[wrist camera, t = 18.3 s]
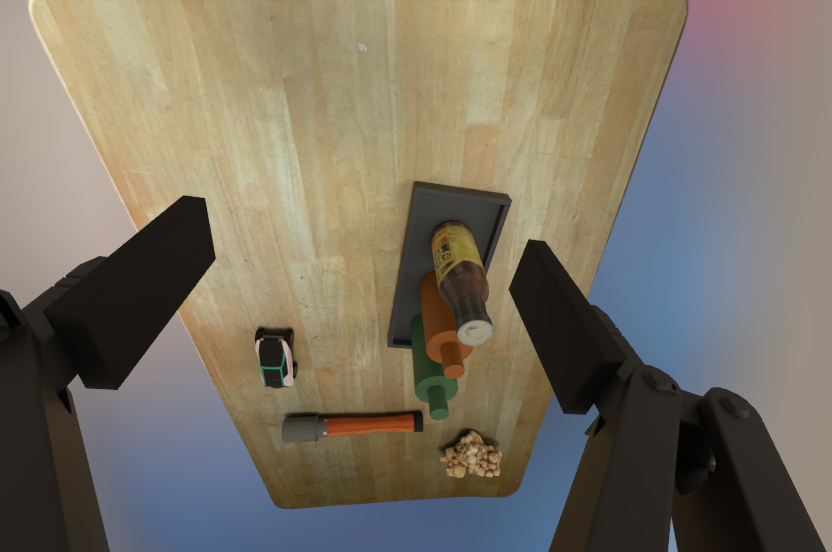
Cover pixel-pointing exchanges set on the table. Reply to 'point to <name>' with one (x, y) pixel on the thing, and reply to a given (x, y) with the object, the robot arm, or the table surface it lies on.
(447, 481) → the table surface
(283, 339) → the toy car
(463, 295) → the sauce bottle
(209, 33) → the table surface
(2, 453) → the robot arm
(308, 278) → the table surface
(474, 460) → the mineral formation
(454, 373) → the amber bottle
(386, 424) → the stick grenade
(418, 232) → the tray
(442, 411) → the green bottle
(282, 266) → the table surface
